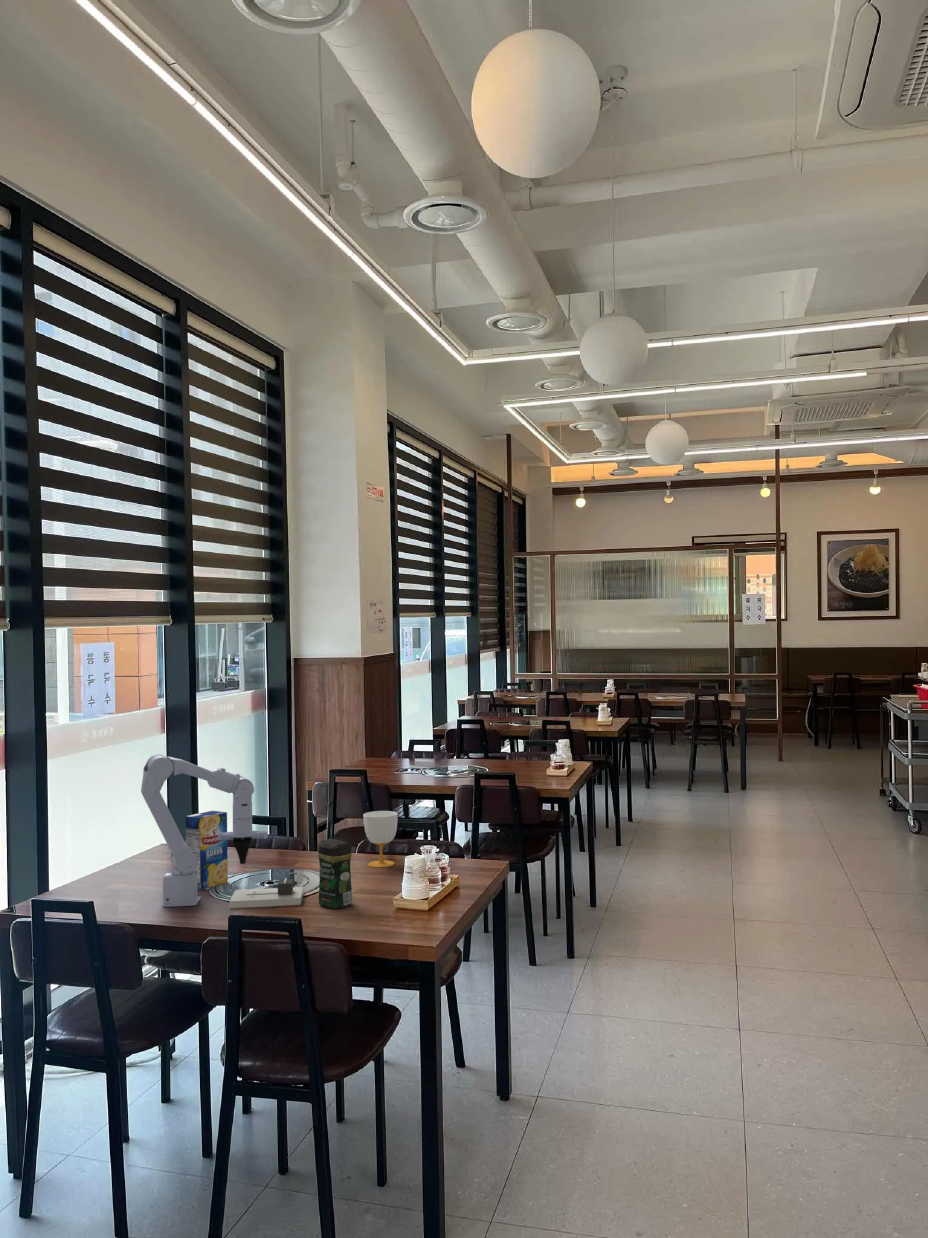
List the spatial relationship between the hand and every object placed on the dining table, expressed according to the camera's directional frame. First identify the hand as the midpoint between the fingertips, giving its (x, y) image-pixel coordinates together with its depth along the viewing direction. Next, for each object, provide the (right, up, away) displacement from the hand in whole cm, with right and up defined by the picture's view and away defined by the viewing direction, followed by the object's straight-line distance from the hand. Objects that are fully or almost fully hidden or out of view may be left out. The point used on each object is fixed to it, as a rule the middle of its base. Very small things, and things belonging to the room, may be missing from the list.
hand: (242, 863), depth 270 cm
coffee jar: (+30, -9, -13) cm, 34 cm away
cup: (+39, -10, +34) cm, 52 cm away
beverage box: (-14, -10, +12) cm, 21 cm away
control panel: (+9, -9, -7) cm, 15 cm away
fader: (+14, -7, -7) cm, 17 cm away
